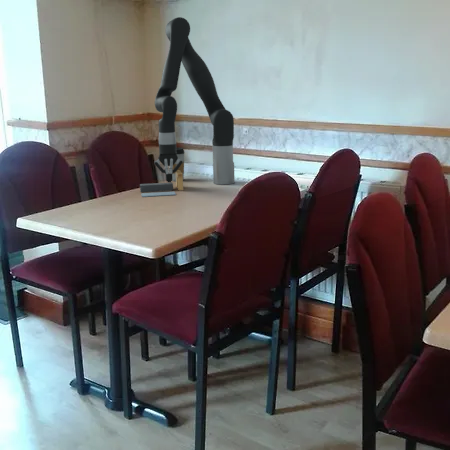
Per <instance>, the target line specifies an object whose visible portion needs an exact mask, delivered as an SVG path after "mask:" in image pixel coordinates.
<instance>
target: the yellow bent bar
mask: <svg viewBox="0 0 450 450" xmlns="http://www.w3.org/2000/svg"><path fill="white" fill-rule="evenodd" d="M183 180H184V179H183V174H182V173H181V171H180V170H178V171H176V181H175V187H176V188H177V190H178V191H184V181H183Z"/></svg>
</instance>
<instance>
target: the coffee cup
mask: <svg viewBox="0 0 450 450" xmlns="http://www.w3.org/2000/svg"><path fill="white" fill-rule="evenodd" d="M176 152H177V156H178V159H180V160H182V162H183V163H182V164H181V166H180V167H179V168H178V170H180V171H181V173H182V174H183V180H184V178H185V177H184V176H185V175H184V174H185V150H184V147H176ZM176 165H177V161H176V162H175V164H174V165H173V169H174V168H175V166H176ZM173 169H172V170H173ZM178 170H177V171H178ZM172 179H173V180H172V181H171V182H176V172H174V173H173V174H172Z"/></svg>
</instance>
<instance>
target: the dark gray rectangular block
mask: <svg viewBox="0 0 450 450" xmlns="http://www.w3.org/2000/svg"><path fill="white" fill-rule="evenodd" d="M139 189H140V191H139V192H140V193H156V192H173V191H174V183H173V181H171V182H154V183H140V184H139ZM172 190H173V191H172Z"/></svg>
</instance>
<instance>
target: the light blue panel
mask: <svg viewBox="0 0 450 450" xmlns="http://www.w3.org/2000/svg"><path fill="white" fill-rule="evenodd" d="M140 193H141V194H140V195H141V197H142V198H151V197H165V196H167V197H168V196H177V194H176V191H155V192H140Z"/></svg>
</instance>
